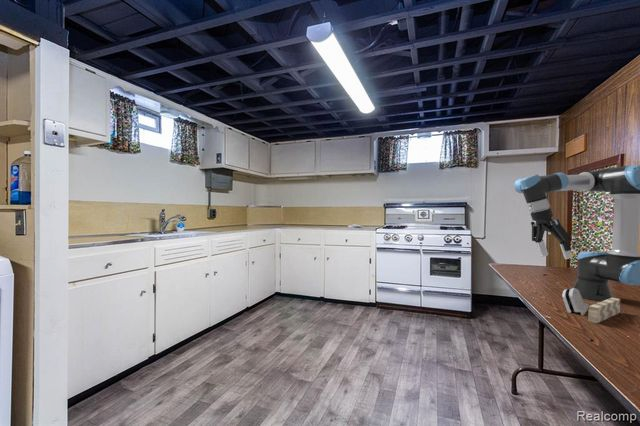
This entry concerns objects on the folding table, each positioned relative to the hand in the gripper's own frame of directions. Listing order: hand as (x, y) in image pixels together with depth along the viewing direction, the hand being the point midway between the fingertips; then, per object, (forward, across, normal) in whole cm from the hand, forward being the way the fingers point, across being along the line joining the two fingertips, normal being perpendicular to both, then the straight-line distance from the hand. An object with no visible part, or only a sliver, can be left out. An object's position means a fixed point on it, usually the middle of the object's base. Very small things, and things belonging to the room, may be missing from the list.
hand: (556, 257), depth 129 cm
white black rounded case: (+26, -5, +4) cm, 26 cm away
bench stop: (+27, +4, +8) cm, 29 cm away
